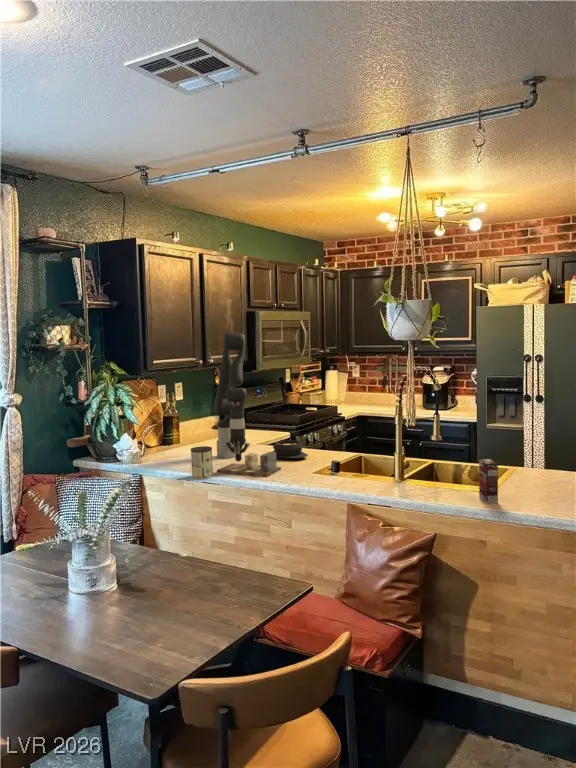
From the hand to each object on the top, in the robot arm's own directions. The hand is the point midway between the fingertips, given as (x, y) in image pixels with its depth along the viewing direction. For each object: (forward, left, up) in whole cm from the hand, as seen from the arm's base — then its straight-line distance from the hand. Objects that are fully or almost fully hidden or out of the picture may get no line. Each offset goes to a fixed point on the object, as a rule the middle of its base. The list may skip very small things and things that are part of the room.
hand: (238, 461), depth 312 cm
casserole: (+11, +38, -5) cm, 40 cm away
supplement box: (+123, -18, -5) cm, 124 cm away
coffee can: (-11, -17, -5) cm, 21 cm away
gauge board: (+6, 0, -5) cm, 8 cm away
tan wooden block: (+7, -2, -3) cm, 8 cm away
